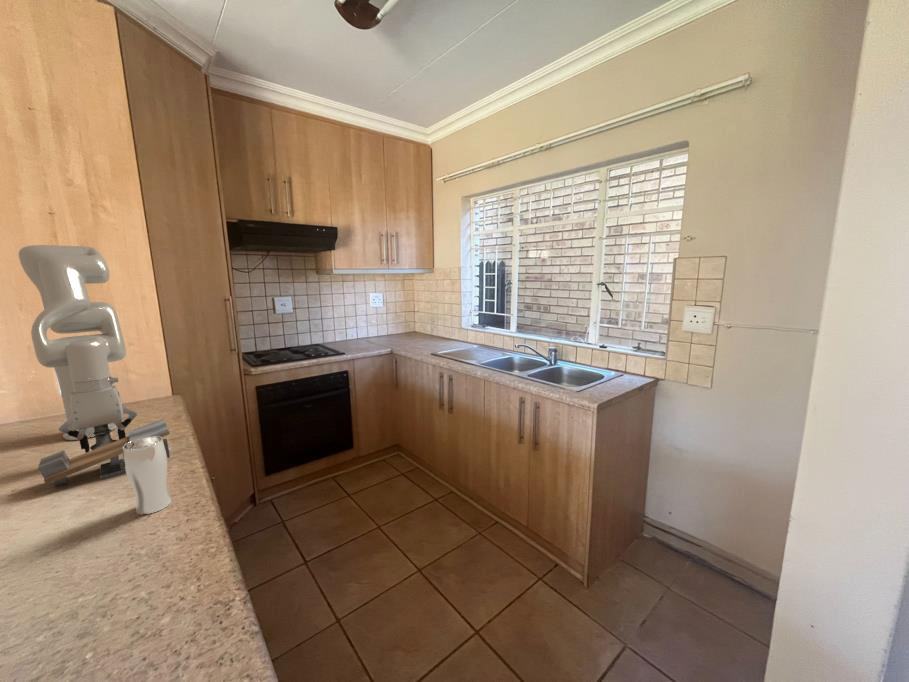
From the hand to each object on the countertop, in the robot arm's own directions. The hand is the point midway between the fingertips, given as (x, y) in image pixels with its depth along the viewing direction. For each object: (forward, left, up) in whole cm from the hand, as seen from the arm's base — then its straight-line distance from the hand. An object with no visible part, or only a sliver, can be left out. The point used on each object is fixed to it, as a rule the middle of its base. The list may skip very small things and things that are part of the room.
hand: (104, 446), depth 103 cm
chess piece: (0, 0, -3) cm, 3 cm away
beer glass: (+39, +8, -3) cm, 40 cm away
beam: (+12, +2, +2) cm, 12 cm away
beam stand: (+12, +2, -3) cm, 13 cm away
